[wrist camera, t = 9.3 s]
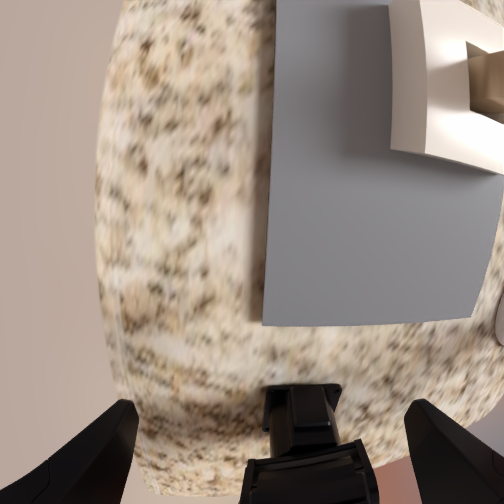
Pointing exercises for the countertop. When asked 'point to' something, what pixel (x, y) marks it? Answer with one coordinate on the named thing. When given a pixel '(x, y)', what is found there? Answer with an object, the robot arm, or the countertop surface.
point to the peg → (486, 83)
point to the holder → (442, 83)
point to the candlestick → (500, 322)
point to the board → (362, 186)
